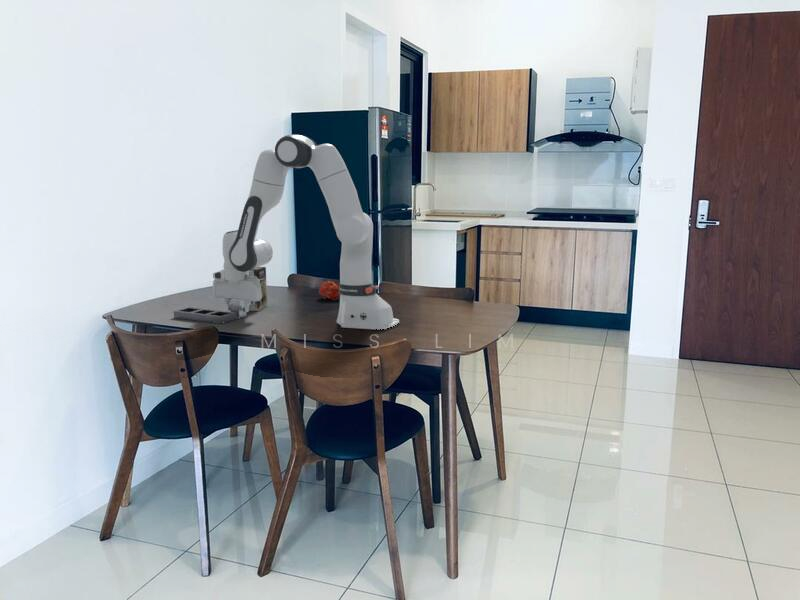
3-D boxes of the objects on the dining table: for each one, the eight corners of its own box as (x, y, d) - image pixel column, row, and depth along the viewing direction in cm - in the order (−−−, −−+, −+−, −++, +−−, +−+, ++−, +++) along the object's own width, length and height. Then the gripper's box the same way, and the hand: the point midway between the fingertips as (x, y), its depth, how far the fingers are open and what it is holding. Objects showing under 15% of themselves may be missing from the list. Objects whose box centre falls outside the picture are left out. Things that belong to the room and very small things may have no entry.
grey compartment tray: (235, 319, 233) (235, 312, 232) (220, 323, 226) (220, 317, 225) (189, 313, 242) (189, 307, 241) (174, 317, 235) (173, 311, 234)
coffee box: (258, 311, 246) (256, 270, 242) (243, 310, 247) (241, 269, 244) (268, 306, 254) (266, 266, 251) (253, 305, 256) (251, 266, 252)
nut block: (246, 316, 238) (245, 300, 237) (239, 318, 234) (238, 302, 233) (237, 315, 240) (237, 299, 238) (230, 317, 236) (229, 301, 235)
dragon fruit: (319, 300, 273) (342, 307, 268) (310, 292, 266) (333, 299, 261) (328, 283, 276) (351, 290, 270) (319, 274, 269) (342, 281, 263)
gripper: (264, 274, 232) (266, 311, 235) (220, 271, 241) (222, 306, 244) (253, 277, 227) (255, 315, 229) (209, 273, 235) (211, 310, 238)
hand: (238, 311), depth 237 cm, fingers open, 5 cm apart
